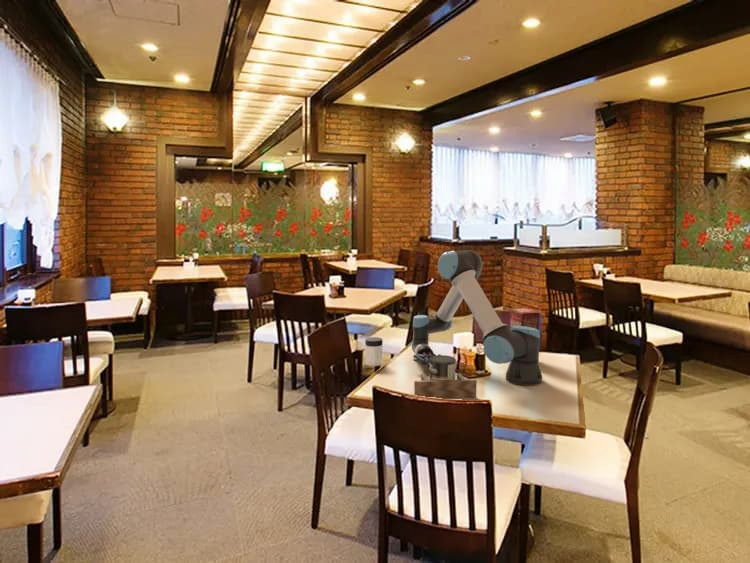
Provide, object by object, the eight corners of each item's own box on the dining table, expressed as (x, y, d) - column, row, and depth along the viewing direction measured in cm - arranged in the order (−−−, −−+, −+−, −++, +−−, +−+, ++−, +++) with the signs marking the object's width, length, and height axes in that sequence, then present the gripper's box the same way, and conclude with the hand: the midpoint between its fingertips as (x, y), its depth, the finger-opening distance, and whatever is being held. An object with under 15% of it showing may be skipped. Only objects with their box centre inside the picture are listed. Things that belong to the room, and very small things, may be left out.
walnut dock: (469, 389, 215) (470, 372, 214) (476, 397, 205) (476, 380, 204) (411, 391, 213) (411, 374, 212) (414, 399, 203) (415, 382, 202)
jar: (370, 367, 246) (370, 342, 244) (361, 363, 252) (361, 338, 251) (386, 364, 250) (386, 339, 249) (377, 360, 257) (377, 336, 256)
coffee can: (435, 398, 204) (435, 363, 203) (425, 390, 214) (425, 356, 212) (459, 396, 207) (460, 361, 205) (448, 387, 217) (449, 354, 215)
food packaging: (508, 357, 261) (509, 308, 257) (525, 356, 262) (527, 307, 259) (520, 365, 248) (522, 313, 244) (539, 364, 249) (541, 312, 246)
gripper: (437, 360, 248) (449, 376, 224) (410, 361, 246) (419, 377, 223) (438, 345, 247) (449, 359, 223) (410, 345, 245) (419, 359, 222)
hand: (434, 368), depth 223 cm, fingers closed
